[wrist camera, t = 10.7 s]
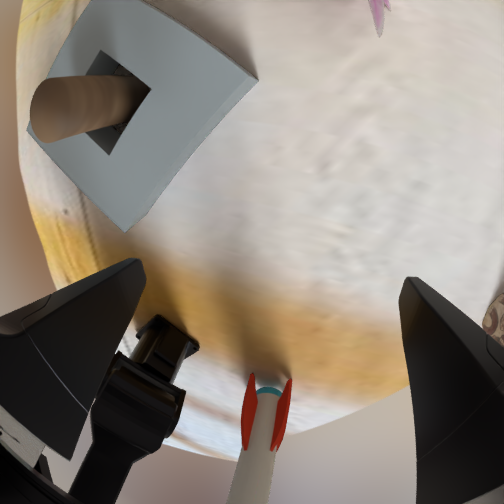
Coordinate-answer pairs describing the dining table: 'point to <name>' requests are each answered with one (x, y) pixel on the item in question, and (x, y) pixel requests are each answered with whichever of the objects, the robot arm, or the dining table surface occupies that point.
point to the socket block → (143, 104)
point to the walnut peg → (84, 104)
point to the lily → (379, 13)
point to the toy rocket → (259, 442)
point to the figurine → (495, 320)
